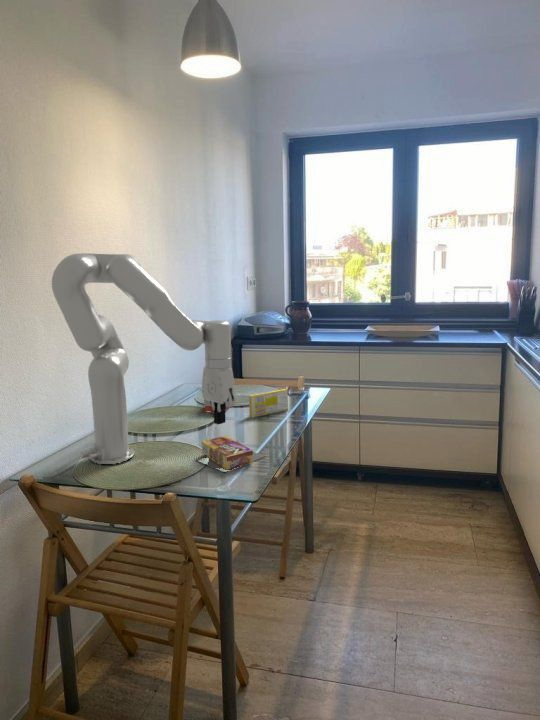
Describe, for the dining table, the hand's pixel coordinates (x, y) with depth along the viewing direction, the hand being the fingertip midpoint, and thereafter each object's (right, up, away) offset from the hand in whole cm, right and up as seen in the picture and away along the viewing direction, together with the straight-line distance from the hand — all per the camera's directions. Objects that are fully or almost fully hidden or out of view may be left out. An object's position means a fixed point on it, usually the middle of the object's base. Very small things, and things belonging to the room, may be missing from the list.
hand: (219, 422), depth 163 cm
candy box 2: (+15, -1, +41) cm, 44 cm away
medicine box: (-4, 0, +49) cm, 49 cm away
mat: (+3, -10, -3) cm, 11 cm away
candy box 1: (-2, -7, +3) cm, 8 cm away
